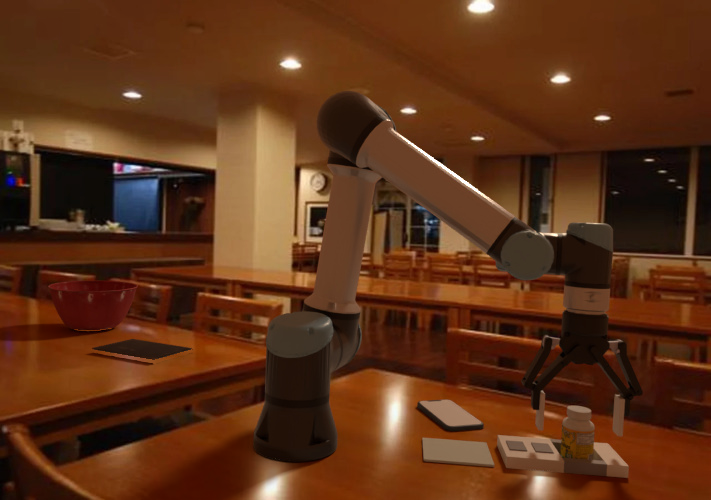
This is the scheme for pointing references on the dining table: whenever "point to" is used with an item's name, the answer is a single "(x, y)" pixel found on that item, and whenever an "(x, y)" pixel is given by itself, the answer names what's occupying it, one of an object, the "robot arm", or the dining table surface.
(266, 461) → the dining table surface
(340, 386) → the dining table surface
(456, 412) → the phone case
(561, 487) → the dining table surface
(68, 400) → the dining table surface
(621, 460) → the white fixture tray
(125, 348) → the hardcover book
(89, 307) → the mixing bowl
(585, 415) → the supplement bottle
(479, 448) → the rubber mat
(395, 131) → the robot arm
